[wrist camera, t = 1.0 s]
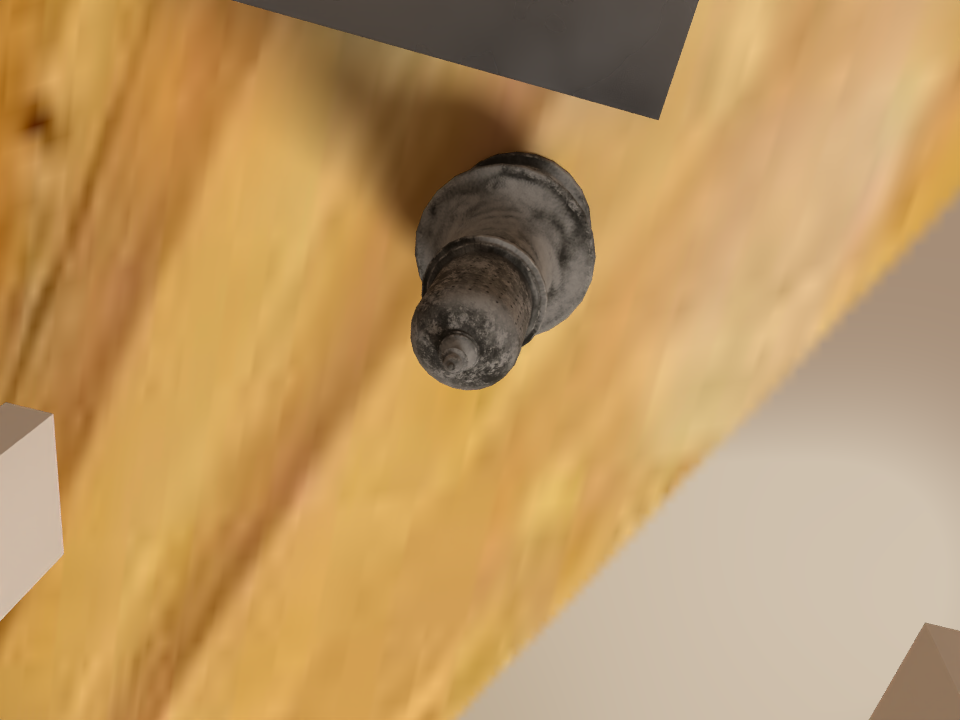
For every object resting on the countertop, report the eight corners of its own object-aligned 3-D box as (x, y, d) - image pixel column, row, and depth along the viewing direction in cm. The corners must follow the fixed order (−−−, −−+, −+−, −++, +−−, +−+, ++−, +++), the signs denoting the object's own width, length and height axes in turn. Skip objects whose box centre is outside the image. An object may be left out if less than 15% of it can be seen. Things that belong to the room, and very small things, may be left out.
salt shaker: (547, 110, 27) (491, 195, 17) (629, 256, 29) (626, 418, 18) (407, 195, 29) (278, 319, 19) (491, 327, 31) (416, 510, 20)
